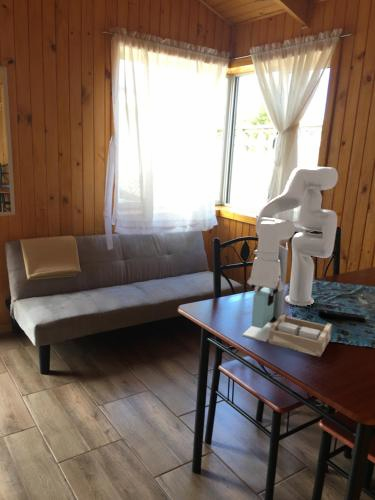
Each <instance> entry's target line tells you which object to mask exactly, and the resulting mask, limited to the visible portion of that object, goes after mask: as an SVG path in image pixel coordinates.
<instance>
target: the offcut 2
mask: <svg viewBox="0 0 375 500" xmlns="http://www.w3.org/2000/svg"><path fill="white" fill-rule="evenodd" d="M319 334H320V330H316V329H312V328H307V327H303V326H302V328H301V329H300V330H299V336H300V337H304V338H308V339H313V340H318V338H319Z"/></svg>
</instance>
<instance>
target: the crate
mask: <svg viewBox="0 0 375 500" xmlns="http://www.w3.org/2000/svg"><path fill="white" fill-rule="evenodd" d="M281 322H286V323H290V324H294V325H298V334H297V336H296V335H292V334H288V333H284V332H280V331H278V325H279V324H280V323H281ZM272 323H273V324H272V326H271V327H270V329H269V339H268V341H267V342H268V344H270V345H274V346H278V347H282V348H286V349H288V348H289V350H292V349H293V351H296V350H297V352H299V353H305V354H308V355H312V356H316V357H319V358H320V357H321V356H322V354H323V352H324V351H325V349H326V347H327V345H328V344H329V342H330V340H331V334H332V326H333V323H329V322H327V324H321V323H318V322H312V321H308V320H305V319H299V318H297V317H296V318H294V317H291V316H288V313H285V312H283V313H282V315H281V316H280V317H279V318H278V319H275V321H274V322H272ZM302 326H303V327H307V328H312V329H316V330H320V334H319V338H318V340H313V339H308V338H304V337H300V336H299V330H300V329H301V328H302Z"/></svg>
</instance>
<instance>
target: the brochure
mask: <svg viewBox="0 0 375 500" xmlns="http://www.w3.org/2000/svg"><path fill="white" fill-rule="evenodd" d="M288 247H289V246H288V242H287V241H286V242H285V247H284V246H283V245H282V244H279V255H278V260H280V267H281V282H282V284H283V286H284V289H283V290H281V291H279V292H277V293H275V299H274V310H273V318H274V319H275V320H277V319H278V318H279V317H280V316H281V315H282V314H283V313H284V312H283V310H284V300H285V289H286V288H285V287H286V279H287V278H286V277H287V269H288V268H287V265H288V255H289V248H288ZM276 288H279V286H277V287H276ZM276 288H275V289H276Z"/></svg>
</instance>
